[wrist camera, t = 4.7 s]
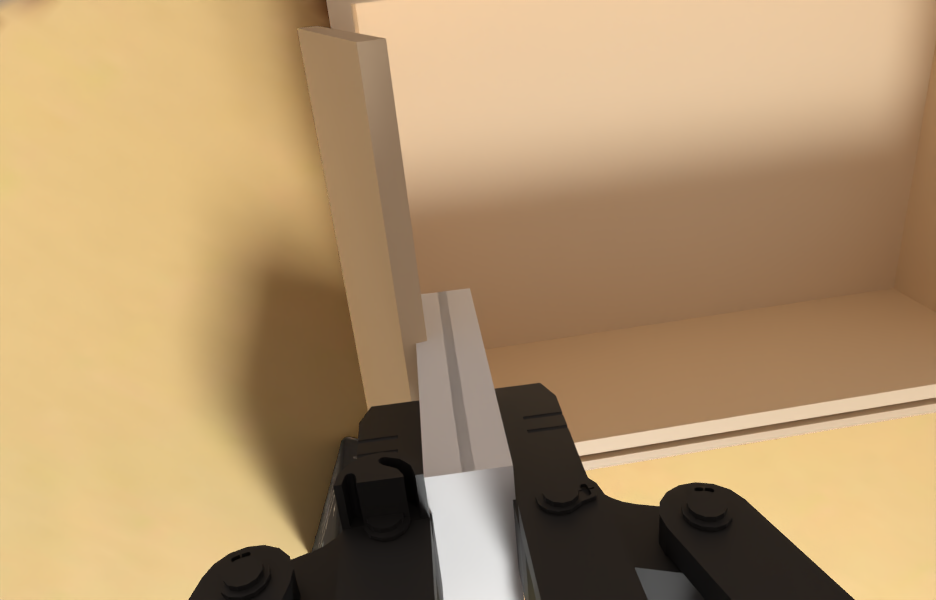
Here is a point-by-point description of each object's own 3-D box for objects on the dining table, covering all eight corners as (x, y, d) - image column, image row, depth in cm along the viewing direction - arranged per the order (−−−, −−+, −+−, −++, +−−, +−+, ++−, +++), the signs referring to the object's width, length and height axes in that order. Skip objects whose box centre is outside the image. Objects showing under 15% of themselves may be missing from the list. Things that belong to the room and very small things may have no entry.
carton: (398, 374, 33) (409, 499, 25) (332, -37, 25) (318, -46, 18) (899, 299, 35) (1056, 392, 27) (970, -103, 27) (1214, -137, 20)
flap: (380, 477, 23) (448, 643, 17) (296, 28, 18) (356, 42, 12) (394, 473, 24) (467, 635, 18) (317, 25, 18) (385, 38, 12)
